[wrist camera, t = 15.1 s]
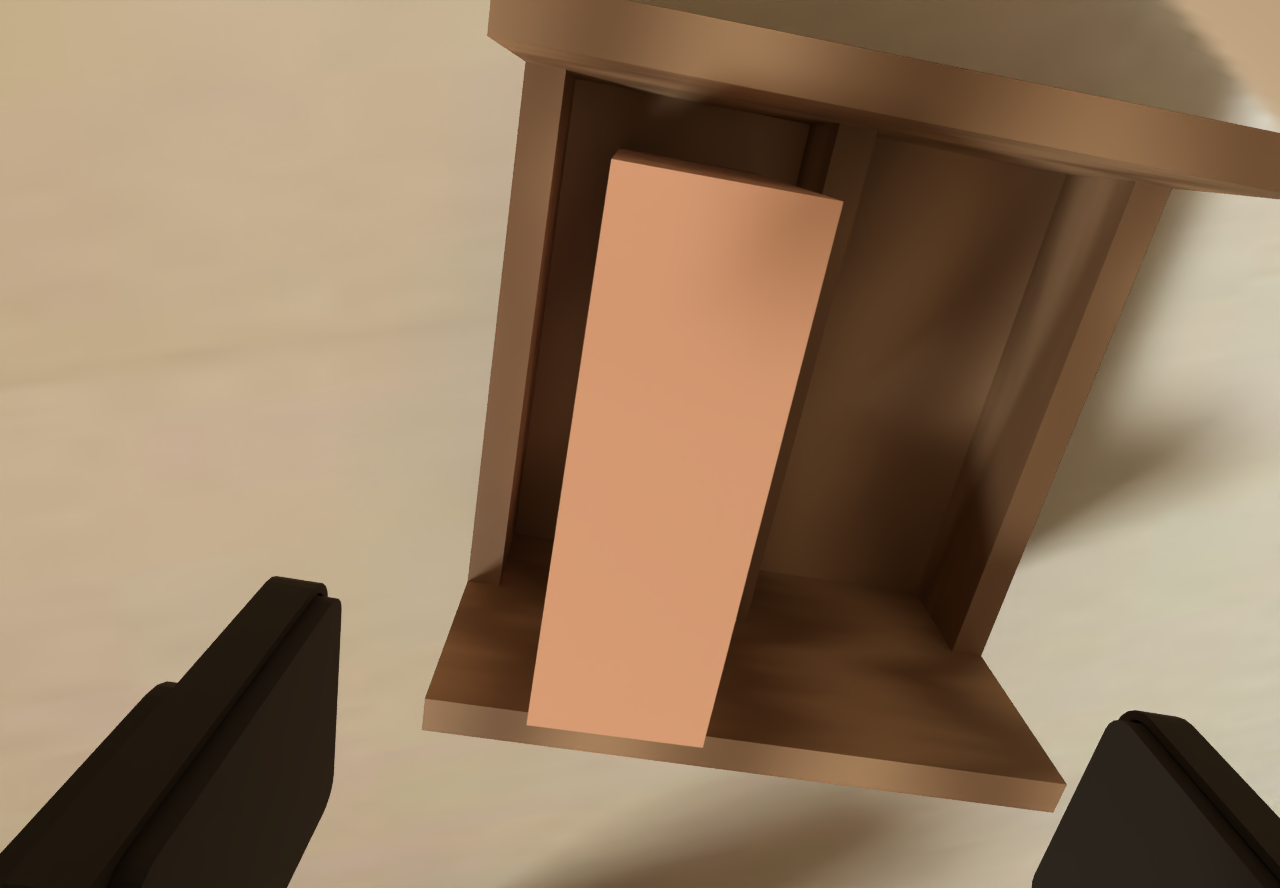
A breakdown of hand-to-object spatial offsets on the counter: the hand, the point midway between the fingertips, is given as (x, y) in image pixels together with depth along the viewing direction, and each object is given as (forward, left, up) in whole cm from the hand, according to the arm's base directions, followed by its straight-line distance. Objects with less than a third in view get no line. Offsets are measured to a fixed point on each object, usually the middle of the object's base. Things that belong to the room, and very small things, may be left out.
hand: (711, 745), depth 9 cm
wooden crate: (-4, 0, -18) cm, 19 cm away
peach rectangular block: (0, 0, -17) cm, 17 cm away
